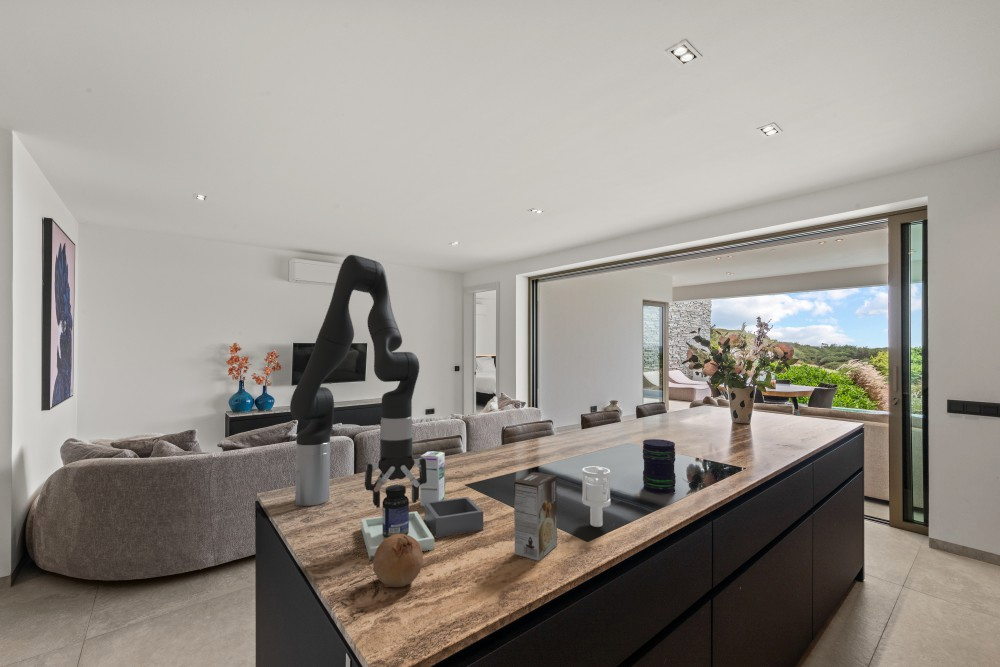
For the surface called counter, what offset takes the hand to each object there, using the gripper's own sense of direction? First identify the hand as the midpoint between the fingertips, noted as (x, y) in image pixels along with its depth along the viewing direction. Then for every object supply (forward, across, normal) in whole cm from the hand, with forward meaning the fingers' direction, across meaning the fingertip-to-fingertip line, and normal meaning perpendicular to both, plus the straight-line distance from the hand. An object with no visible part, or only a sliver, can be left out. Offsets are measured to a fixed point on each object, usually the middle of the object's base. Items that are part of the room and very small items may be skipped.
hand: (396, 504), depth 107 cm
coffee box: (+8, -28, +18) cm, 34 cm away
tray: (+8, 0, 0) cm, 8 cm away
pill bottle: (+7, 0, 0) cm, 7 cm away
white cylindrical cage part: (+8, -49, +11) cm, 51 cm away
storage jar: (+8, -84, -5) cm, 85 cm away
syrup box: (+8, -14, -20) cm, 26 cm away
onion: (+8, +3, +20) cm, 22 cm away
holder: (+8, -15, -3) cm, 17 cm away
